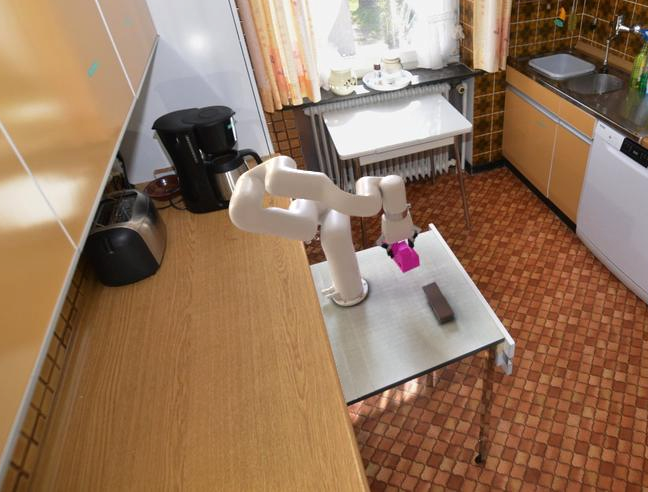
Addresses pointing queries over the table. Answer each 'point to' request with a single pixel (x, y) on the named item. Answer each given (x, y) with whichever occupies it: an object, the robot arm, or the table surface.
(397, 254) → the toy block
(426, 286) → the brown rectangular block
